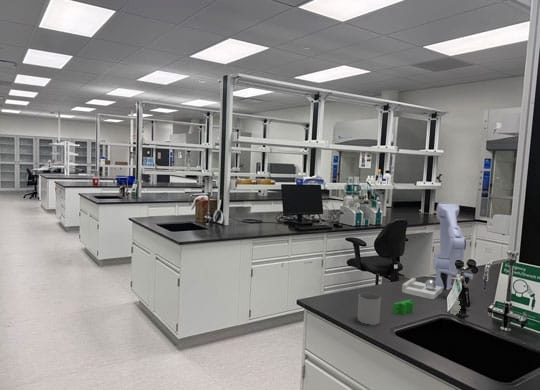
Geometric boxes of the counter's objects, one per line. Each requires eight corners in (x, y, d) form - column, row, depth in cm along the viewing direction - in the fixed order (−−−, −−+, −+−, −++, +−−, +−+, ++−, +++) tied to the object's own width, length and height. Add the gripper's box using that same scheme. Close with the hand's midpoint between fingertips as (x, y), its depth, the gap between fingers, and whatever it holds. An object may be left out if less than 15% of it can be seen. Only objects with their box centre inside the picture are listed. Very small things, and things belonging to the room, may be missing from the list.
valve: (461, 318, 156) (469, 310, 165) (463, 302, 156) (470, 296, 165) (445, 313, 161) (453, 306, 170) (446, 298, 160) (454, 292, 169)
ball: (426, 287, 189) (427, 277, 189) (437, 289, 186) (437, 279, 186) (423, 289, 185) (424, 279, 185) (434, 291, 182) (435, 281, 182)
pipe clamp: (400, 317, 155) (400, 306, 155) (392, 314, 158) (393, 303, 158) (417, 312, 161) (418, 301, 161) (410, 309, 164) (410, 299, 164)
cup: (375, 326, 144) (377, 301, 143) (354, 321, 148) (356, 296, 147) (381, 319, 151) (383, 295, 150) (361, 315, 155) (362, 291, 154)
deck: (412, 285, 200) (412, 277, 199) (442, 291, 191) (442, 284, 190) (401, 292, 187) (402, 284, 187) (433, 299, 178) (434, 291, 178)
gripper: (437, 261, 179) (435, 289, 180) (471, 267, 170) (469, 296, 171) (441, 259, 185) (439, 286, 186) (474, 264, 176) (472, 293, 177)
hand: (453, 291), depth 179 cm, fingers open, 7 cm apart
